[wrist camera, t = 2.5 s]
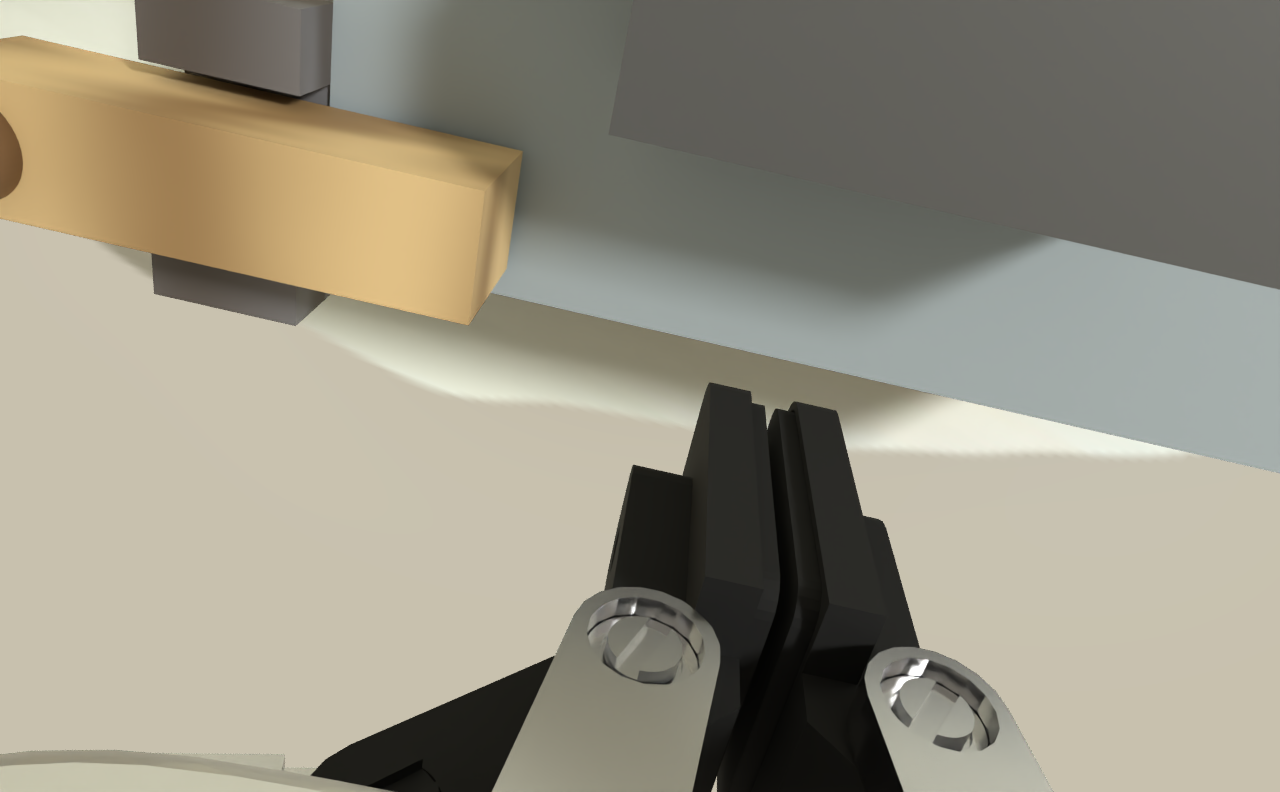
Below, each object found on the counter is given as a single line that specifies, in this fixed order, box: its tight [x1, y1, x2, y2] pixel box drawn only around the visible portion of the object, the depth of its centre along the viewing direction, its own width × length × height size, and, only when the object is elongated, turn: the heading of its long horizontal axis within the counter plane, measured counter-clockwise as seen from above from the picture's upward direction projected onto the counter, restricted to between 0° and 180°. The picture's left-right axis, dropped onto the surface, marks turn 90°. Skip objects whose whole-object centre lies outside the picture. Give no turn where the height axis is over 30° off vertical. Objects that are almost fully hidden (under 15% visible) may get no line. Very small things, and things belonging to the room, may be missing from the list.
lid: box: [330, 0, 1280, 473], centre depth 15 cm, size 22×14×7 cm, turn 78°
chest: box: [135, 0, 333, 326], centre depth 20 cm, size 25×15×11 cm, turn 78°
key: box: [0, 36, 523, 325], centre depth 16 cm, size 10×2×4 cm, turn 78°
